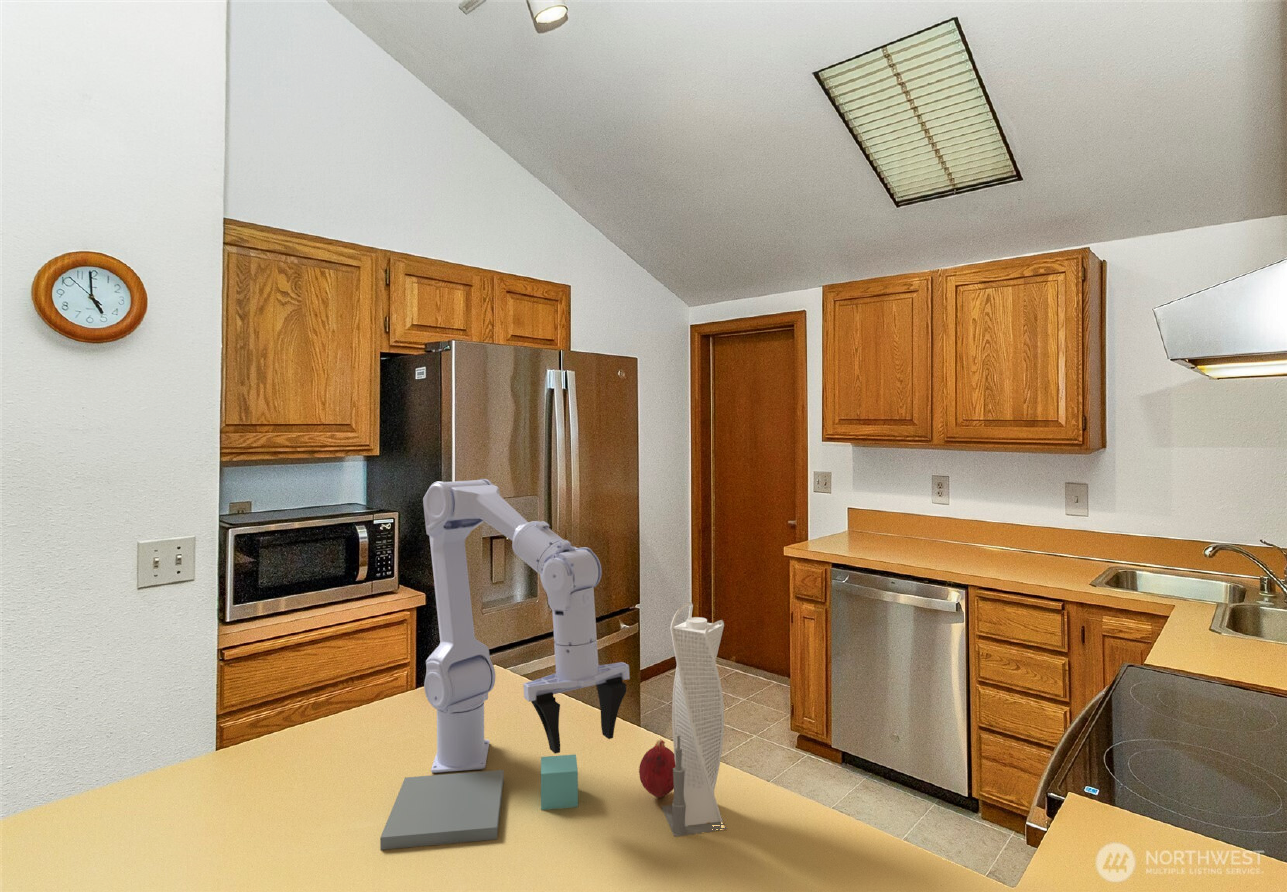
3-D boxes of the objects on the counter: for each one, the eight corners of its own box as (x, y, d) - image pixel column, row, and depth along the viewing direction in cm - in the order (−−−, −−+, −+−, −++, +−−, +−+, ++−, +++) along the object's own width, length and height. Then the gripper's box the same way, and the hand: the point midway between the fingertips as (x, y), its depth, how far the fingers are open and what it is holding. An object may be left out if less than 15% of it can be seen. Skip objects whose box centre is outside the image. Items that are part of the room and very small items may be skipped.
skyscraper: (659, 803, 93) (658, 602, 93) (714, 797, 95) (713, 599, 95) (674, 838, 85) (673, 617, 85) (735, 830, 87) (734, 614, 86)
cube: (541, 791, 96) (540, 756, 96) (576, 788, 97) (575, 754, 97) (541, 810, 91) (540, 773, 91) (577, 807, 92) (577, 770, 92)
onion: (677, 810, 91) (676, 751, 91) (635, 806, 92) (635, 748, 92) (683, 789, 96) (682, 733, 96) (643, 785, 98) (643, 730, 98)
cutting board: (405, 787, 97) (405, 777, 97) (503, 779, 99) (503, 769, 99) (380, 849, 82) (380, 837, 82) (496, 838, 84) (496, 827, 84)
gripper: (533, 656, 83) (540, 768, 83) (636, 636, 90) (643, 739, 89) (516, 645, 89) (522, 749, 89) (614, 627, 96) (620, 723, 96)
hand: (581, 743), depth 90 cm, fingers open, 7 cm apart
